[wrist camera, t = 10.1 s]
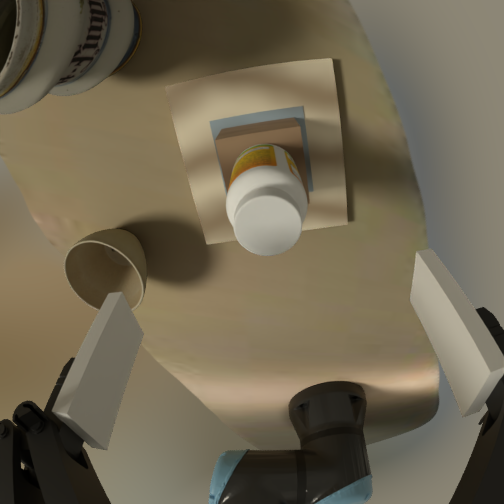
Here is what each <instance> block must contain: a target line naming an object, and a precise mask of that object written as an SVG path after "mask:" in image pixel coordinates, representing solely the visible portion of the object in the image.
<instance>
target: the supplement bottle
mask: <svg viewBox="0 0 504 504" xmlns="http://www.w3.org/2000/svg"><path fill="white" fill-rule="evenodd" d="M307 207H308V202H307V195H306V192H305V189H304V186H303V183H302V180H301V177H300V175H299V172H298V169H297V166H296V164H295V162H294V160H293V158H292V157H291V156H290V155H289V153H288V152H286V151H285V150H284V149H282V148H280V147H278V146H276V145H272V144H258V145H254V146H252V147H249V148H248V149H246V150H245V151H244V152H242V153H241V154H240V156H239V157H238V158H237V160H236V162H235V164H234V167H233V170H232V175H231V179H230V184H229V188H228V193H227V197H226V211H227V216H228V218H229V221H230V223H231V224H232V226H233V228H234V233H235V236H236V238H237V240H238V242H239V243H240V244H241V245H242V246H243V247H244V248H245V249H247V250H248V251H250V252H252V253H254V254H257V255H262V256H273V255H278V254H281V253H283V252H285V251H287V250H289V249H290V248H291V247H293V246H294V245H295V243H296V242H297V241H298V239H299V237H300V235H301V231H302V224H303V222H304V220H305V217H306V214H307Z"/></svg>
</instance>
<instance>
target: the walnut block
mask: <svg viewBox="0 0 504 504" xmlns="http://www.w3.org/2000/svg"><path fill="white" fill-rule="evenodd" d="M215 143H216V147H217V152H218V156H219V160H220V165H221V169H222V174H223V178H224V182H225V187H226V191H227V193H228V188H229V184H230V179H231V175H232V170H233V167H234V164H235V162H236V160H237V158H238V157H239V156H240V154H241V153H242V152H244V151H245V150H246V149H248V148H249V147H252V146H254V145H258V144H272V145H276V146H278V147H280V148H282V149H284V150H285V151H286V152H288V153H289V155H290V156H291V157H292V158H293V160H294V162H295V164H296V166H297V169H298V172H299V175H300V177H301V180H302V183H303V186H304V189H305V192H306V195H307V202H308V204H310V199H309V190H308V181H307V173H306V165H305V157H304V150H303V142H302V135H301V128H300V125H299V124H298V122H297V121H296V120H295V118H294V117H292V118H285V119H278V120H271V121H264V122H258V123H252V124H246V125H240V126H235V127H230V128H224V129H221V131H220V132H219V134H218V136H217V138H216V139H215Z"/></svg>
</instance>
